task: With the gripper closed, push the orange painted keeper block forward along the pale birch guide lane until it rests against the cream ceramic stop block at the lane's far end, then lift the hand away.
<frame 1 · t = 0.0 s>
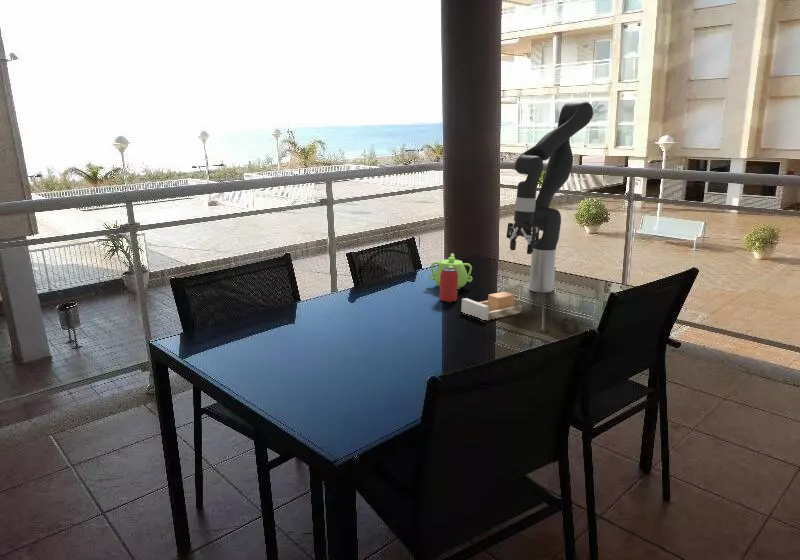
hand: (520, 251, 222), 17 cm above the table, tool pointing down, fingers open, 8 cm apart
beer can: (448, 300, 218), on the table
guide lane: (493, 312, 205), on the table
keeper block: (500, 310, 207), on the table
stop block: (474, 316, 200), on the table
green sugar bowl: (450, 287, 237), on the table
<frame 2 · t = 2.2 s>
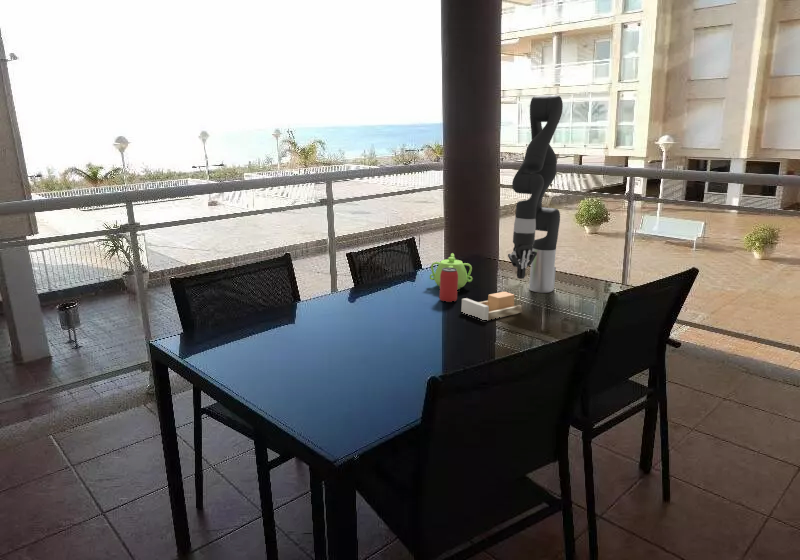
hand: (520, 278, 209), 11 cm above the table, tool pointing down, fingers closed
nothing on the table moved.
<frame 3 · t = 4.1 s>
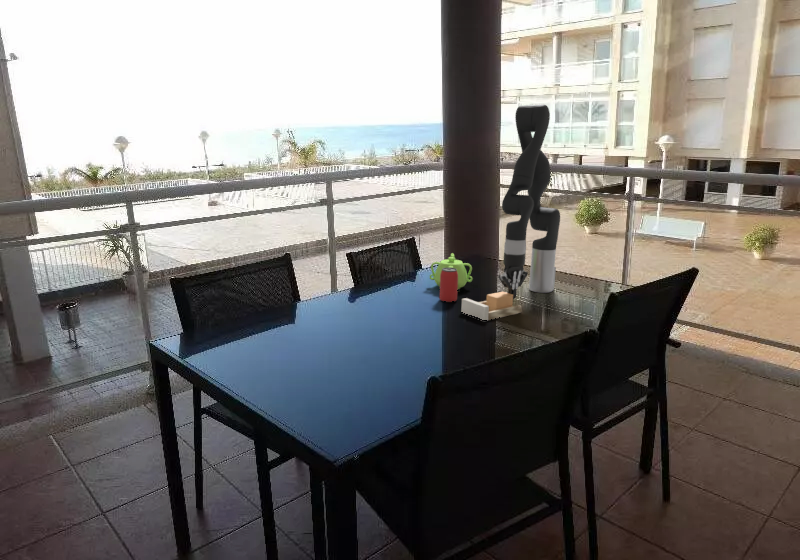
hand: (511, 298, 209), 4 cm above the table, tool pointing down, fingers closed
keeper block: (499, 310, 206), on the table, touching gripper
everything else where it was.
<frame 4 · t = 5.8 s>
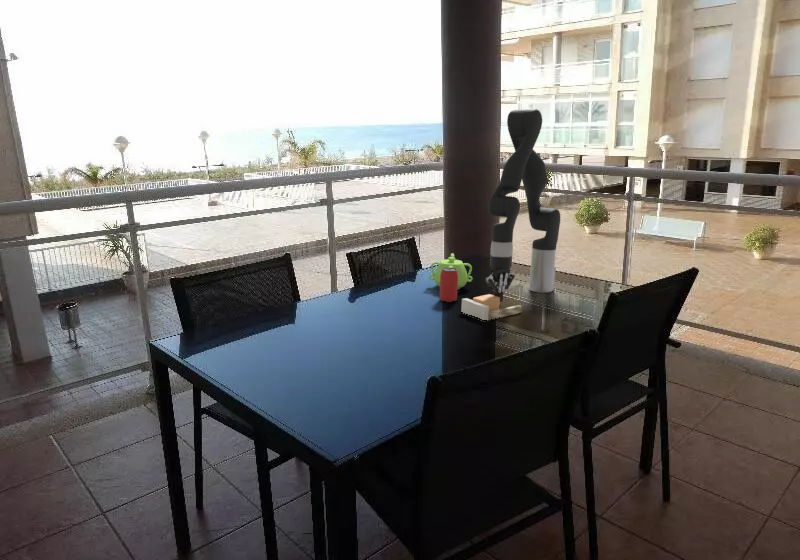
hand: (498, 301, 205), 3 cm above the table, tool pointing down, fingers closed
keeper block: (485, 314, 203), on the table, touching gripper
everything else where it was.
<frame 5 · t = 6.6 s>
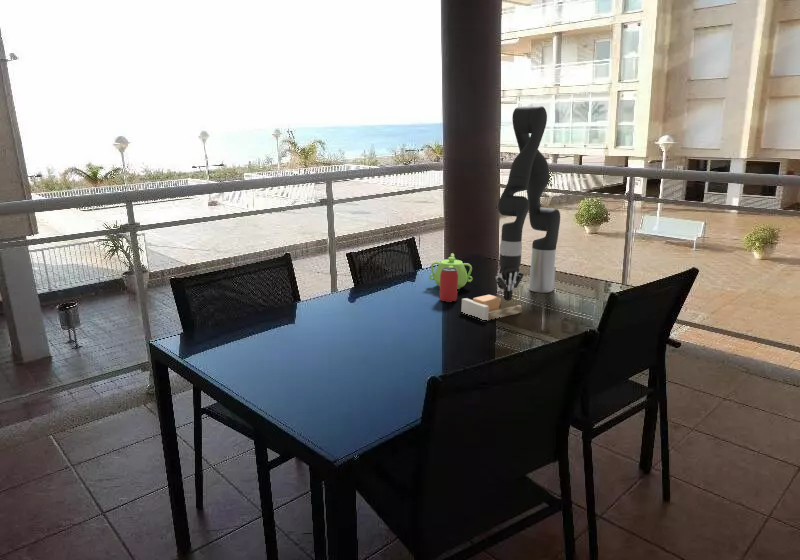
hand: (507, 300, 208), 3 cm above the table, tool pointing down, fingers closed
keeper block: (485, 314, 203), on the table
everything else where it was.
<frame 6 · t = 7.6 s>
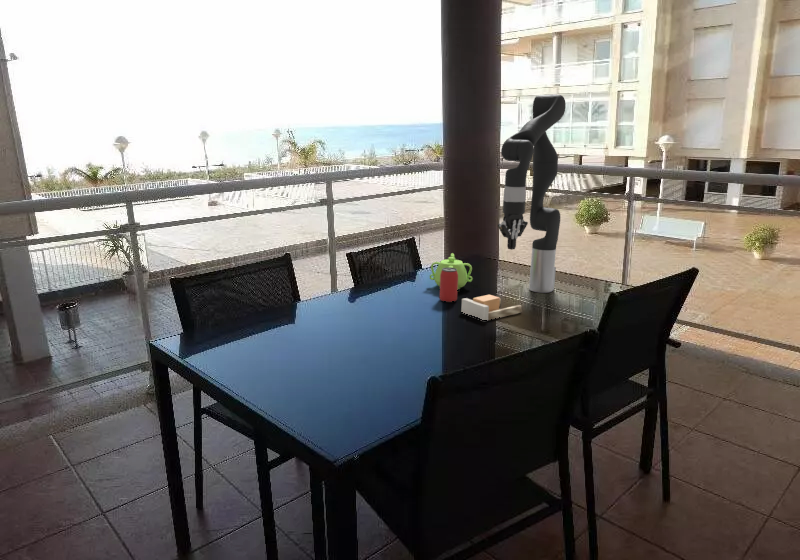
hand: (511, 249, 203), 22 cm above the table, tool pointing down, fingers closed
nothing on the table moved.
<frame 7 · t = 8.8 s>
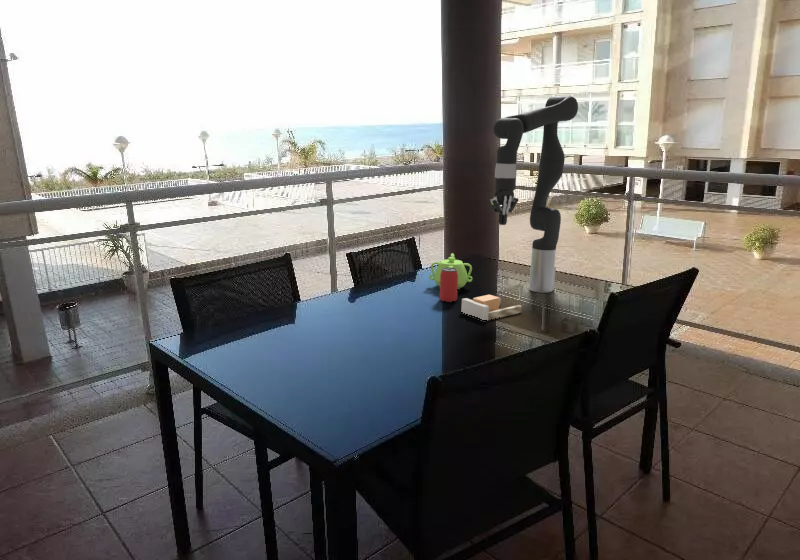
hand: (502, 224, 211), 29 cm above the table, tool pointing down, fingers closed
nothing on the table moved.
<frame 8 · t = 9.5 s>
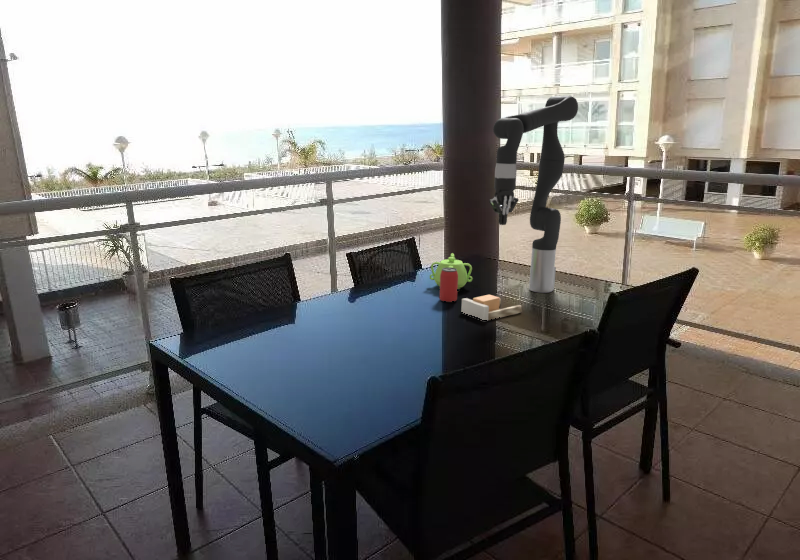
hand: (502, 224, 211), 29 cm above the table, tool pointing down, fingers closed
nothing on the table moved.
at the end: keeper block 0.5 cm from the target spot, on the table; keeper block tilted 0° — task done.
